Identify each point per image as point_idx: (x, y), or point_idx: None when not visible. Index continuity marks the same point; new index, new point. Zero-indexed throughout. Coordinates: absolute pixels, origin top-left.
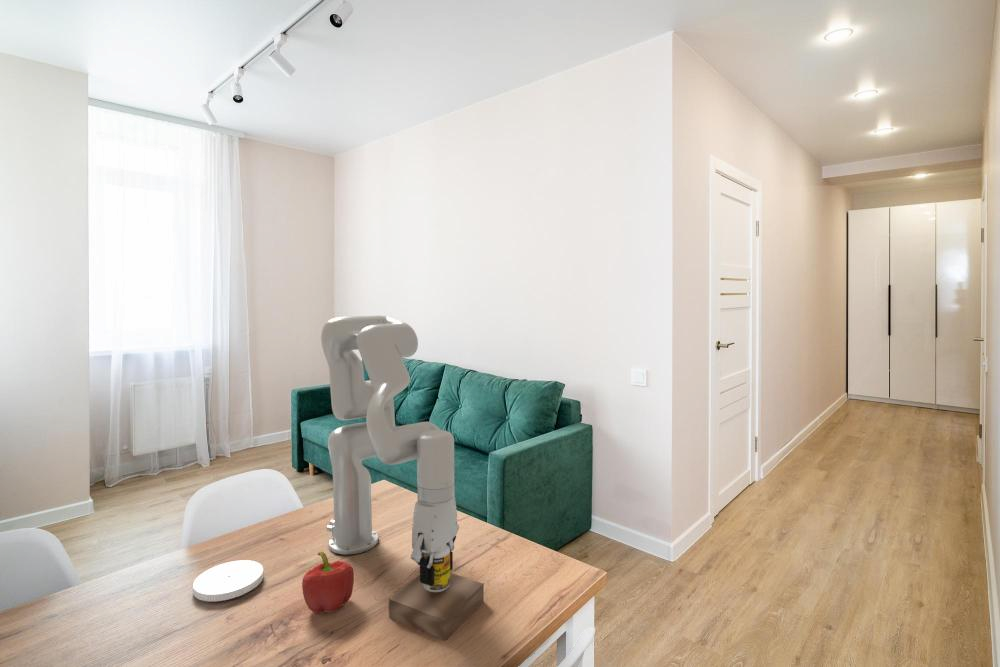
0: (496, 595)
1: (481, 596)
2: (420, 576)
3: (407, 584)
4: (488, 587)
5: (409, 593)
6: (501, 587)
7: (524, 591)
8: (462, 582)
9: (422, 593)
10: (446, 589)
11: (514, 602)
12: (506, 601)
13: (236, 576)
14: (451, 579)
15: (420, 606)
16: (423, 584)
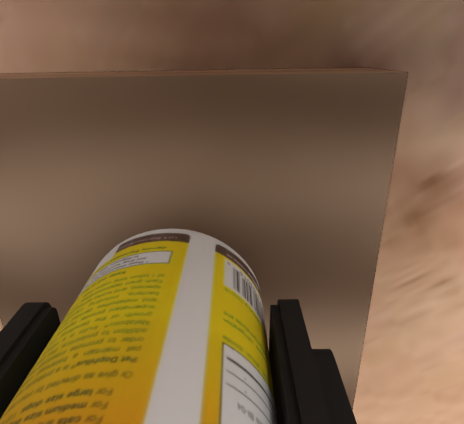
0: (386, 363)
1: None
2: (4, 334)
3: (122, 79)
4: (429, 318)
5: (59, 163)
6: (445, 355)
7: (446, 420)
8: (317, 340)
9: (111, 229)
10: None
11: (369, 420)
12: (364, 401)
13: None
14: (317, 283)
15: (22, 287)
16: (104, 257)
